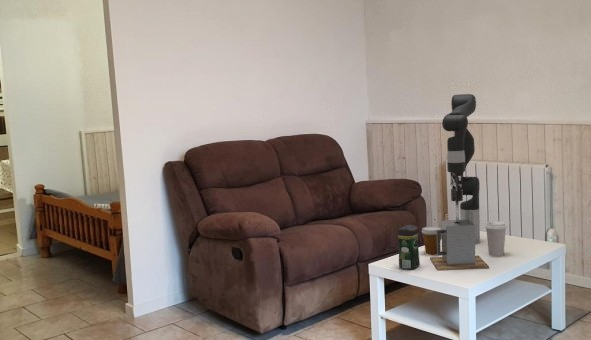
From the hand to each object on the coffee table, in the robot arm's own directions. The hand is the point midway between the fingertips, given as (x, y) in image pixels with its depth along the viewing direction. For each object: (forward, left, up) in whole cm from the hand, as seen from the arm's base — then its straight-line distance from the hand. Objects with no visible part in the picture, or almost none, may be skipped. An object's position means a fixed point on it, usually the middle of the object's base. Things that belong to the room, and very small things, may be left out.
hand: (456, 197), depth 269 cm
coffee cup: (-13, +20, -30) cm, 38 cm away
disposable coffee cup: (-20, -8, -30) cm, 37 cm away
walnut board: (0, 0, -30) cm, 30 cm away
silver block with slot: (0, -1, -29) cm, 29 cm away
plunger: (0, 0, -16) cm, 16 cm away
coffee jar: (+2, -22, -30) cm, 37 cm away
